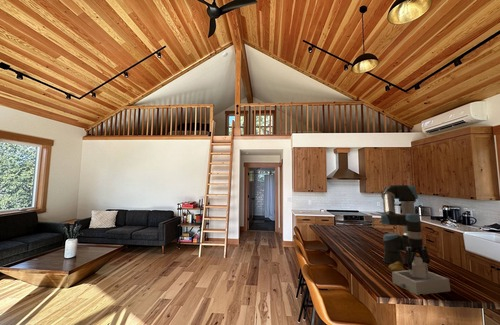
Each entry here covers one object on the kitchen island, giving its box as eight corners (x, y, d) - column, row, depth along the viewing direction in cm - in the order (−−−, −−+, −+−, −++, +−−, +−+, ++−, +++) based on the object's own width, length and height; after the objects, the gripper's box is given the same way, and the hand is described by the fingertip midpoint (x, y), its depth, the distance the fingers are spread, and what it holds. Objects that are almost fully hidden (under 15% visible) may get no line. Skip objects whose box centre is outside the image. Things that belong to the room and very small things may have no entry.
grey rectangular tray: (390, 283, 141) (389, 271, 142) (423, 279, 145) (421, 268, 146) (414, 295, 124) (413, 282, 125) (450, 291, 129) (448, 278, 129)
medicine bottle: (412, 273, 141) (410, 254, 142) (426, 275, 136) (424, 256, 138) (412, 276, 135) (409, 256, 137) (426, 279, 131) (424, 259, 132)
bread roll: (408, 278, 147) (407, 266, 148) (392, 277, 150) (391, 265, 151) (402, 271, 159) (401, 260, 160) (387, 270, 163) (386, 259, 164)
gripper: (405, 240, 133) (409, 278, 130) (435, 238, 137) (439, 274, 134) (395, 237, 140) (398, 273, 137) (423, 235, 144) (427, 270, 141)
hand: (418, 274), depth 136 cm, fingers closed on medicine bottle, 10 cm apart
